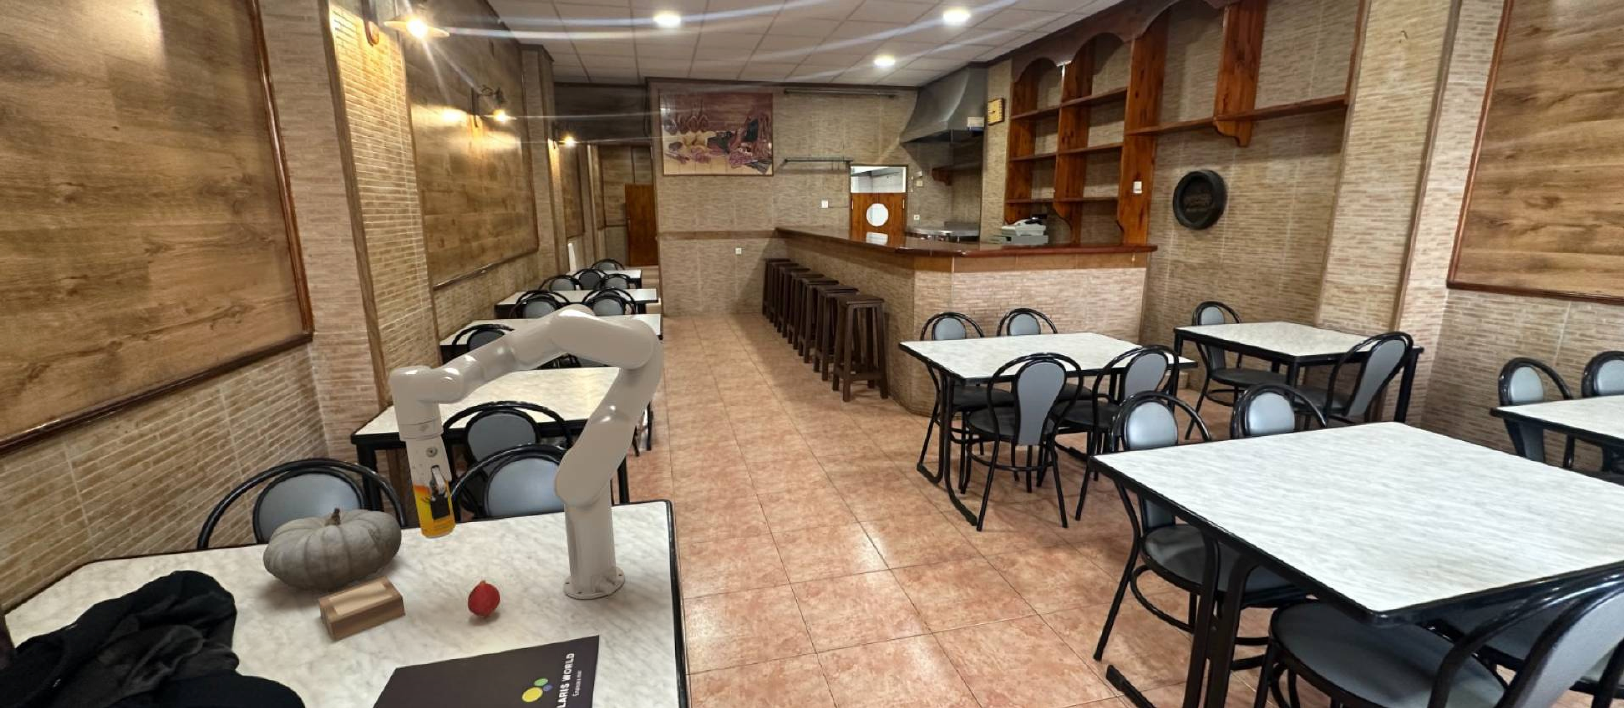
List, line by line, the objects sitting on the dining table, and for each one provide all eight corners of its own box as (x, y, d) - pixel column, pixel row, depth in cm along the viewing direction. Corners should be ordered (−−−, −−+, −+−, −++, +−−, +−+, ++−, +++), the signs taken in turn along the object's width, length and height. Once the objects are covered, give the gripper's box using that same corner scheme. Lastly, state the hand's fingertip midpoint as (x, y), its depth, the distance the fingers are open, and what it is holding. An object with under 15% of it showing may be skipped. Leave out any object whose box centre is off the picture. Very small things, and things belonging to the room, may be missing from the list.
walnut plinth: (405, 614, 135) (402, 596, 134) (334, 641, 127) (331, 622, 126) (388, 592, 143) (385, 575, 142) (321, 616, 135) (317, 598, 134)
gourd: (333, 605, 134) (316, 522, 133) (239, 612, 140) (222, 532, 139) (430, 557, 158) (416, 486, 157) (346, 564, 164) (332, 496, 163)
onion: (470, 628, 130) (465, 591, 128) (469, 613, 135) (465, 577, 133) (502, 619, 133) (498, 583, 131) (501, 605, 138) (496, 570, 136)
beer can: (441, 540, 133) (428, 470, 130) (415, 539, 134) (402, 469, 131) (462, 526, 139) (451, 458, 136) (437, 525, 140) (425, 458, 137)
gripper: (456, 431, 128) (470, 517, 132) (427, 416, 140) (441, 495, 144) (413, 442, 123) (429, 531, 127) (387, 425, 135) (402, 507, 139)
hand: (435, 511), depth 135 cm, fingers closed on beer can, 6 cm apart
